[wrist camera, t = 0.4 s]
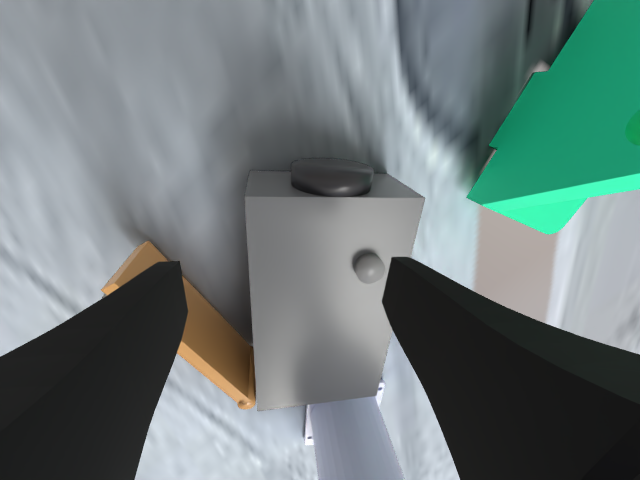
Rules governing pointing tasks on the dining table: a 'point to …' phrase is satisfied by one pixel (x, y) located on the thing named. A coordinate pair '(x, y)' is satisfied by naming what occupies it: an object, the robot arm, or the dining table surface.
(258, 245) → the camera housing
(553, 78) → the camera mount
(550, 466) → the robot arm
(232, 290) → the dining table surface
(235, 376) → the tan piece
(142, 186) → the dining table surface
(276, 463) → the dining table surface
